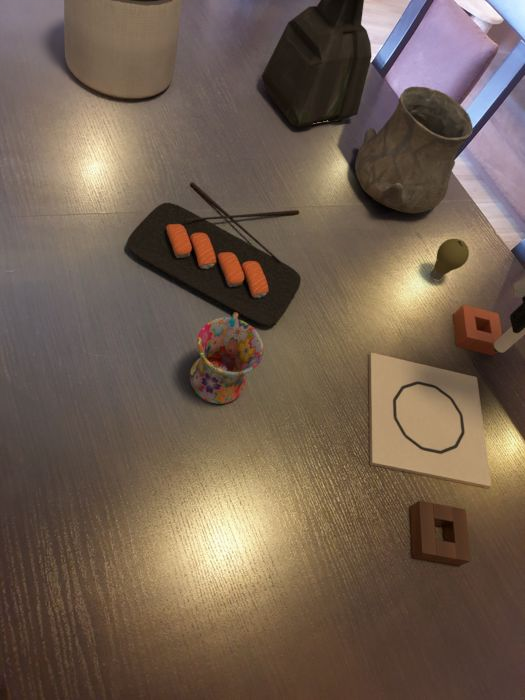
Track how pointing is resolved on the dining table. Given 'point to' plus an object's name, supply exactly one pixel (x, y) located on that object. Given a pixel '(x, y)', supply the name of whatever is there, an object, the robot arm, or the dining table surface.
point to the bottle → (320, 63)
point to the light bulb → (449, 257)
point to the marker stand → (454, 532)
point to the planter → (122, 45)
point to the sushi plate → (217, 260)
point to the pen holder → (476, 329)
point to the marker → (507, 340)
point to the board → (426, 421)
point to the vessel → (413, 151)
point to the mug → (225, 358)
